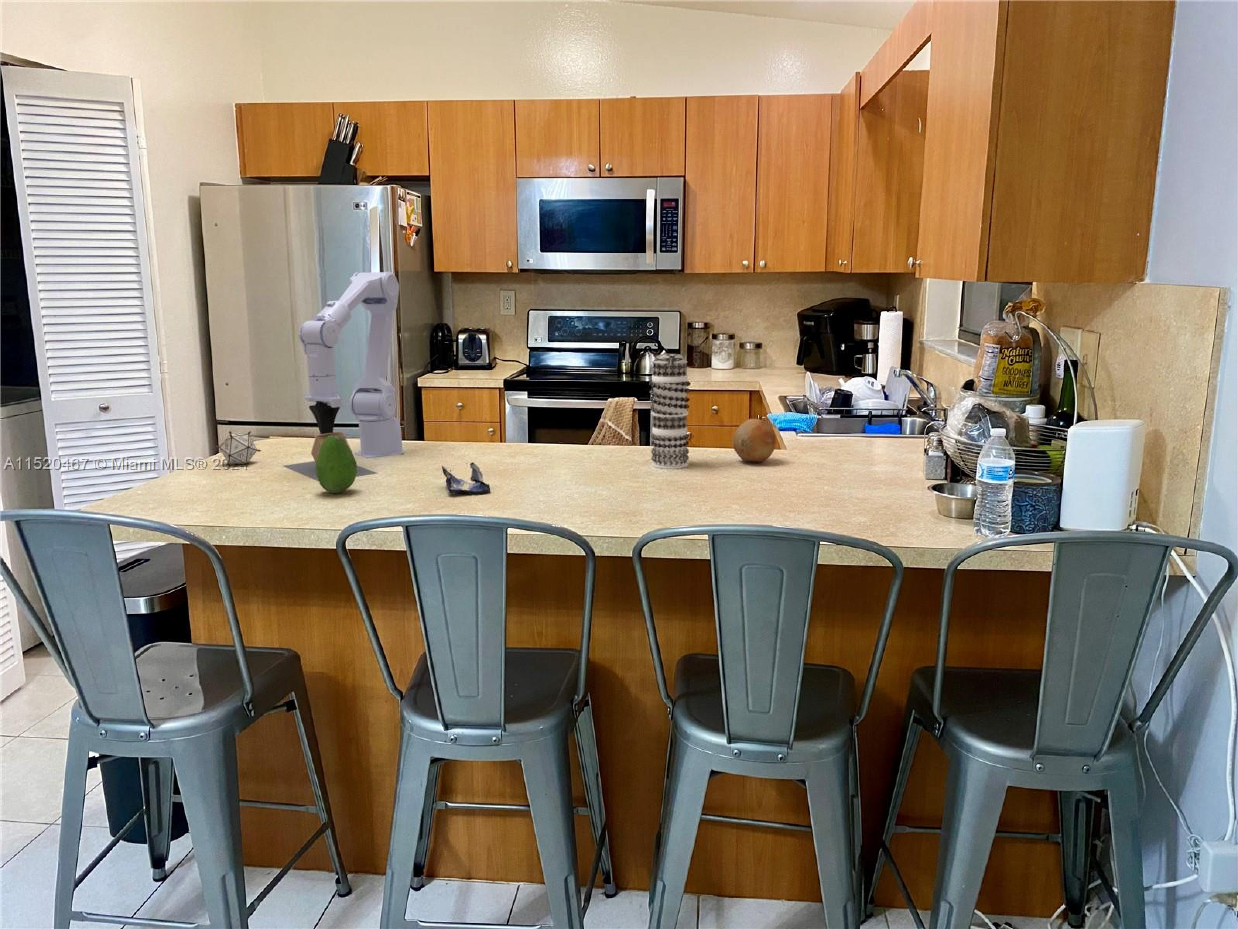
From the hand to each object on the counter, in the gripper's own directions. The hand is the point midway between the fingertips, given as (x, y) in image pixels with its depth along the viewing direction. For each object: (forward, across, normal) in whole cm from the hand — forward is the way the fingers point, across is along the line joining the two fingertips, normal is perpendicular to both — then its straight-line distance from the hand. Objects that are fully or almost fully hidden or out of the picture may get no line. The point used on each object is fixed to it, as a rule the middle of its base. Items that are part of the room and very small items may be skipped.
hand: (326, 436), depth 203 cm
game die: (+8, -21, -13) cm, 26 cm away
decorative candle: (+8, +48, +60) cm, 77 cm away
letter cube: (+2, -1, 0) cm, 2 cm away
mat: (+8, -1, 0) cm, 8 cm away
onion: (+8, +59, +76) cm, 97 cm away
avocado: (+8, +21, -7) cm, 23 cm away
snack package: (+9, +36, +14) cm, 40 cm away
